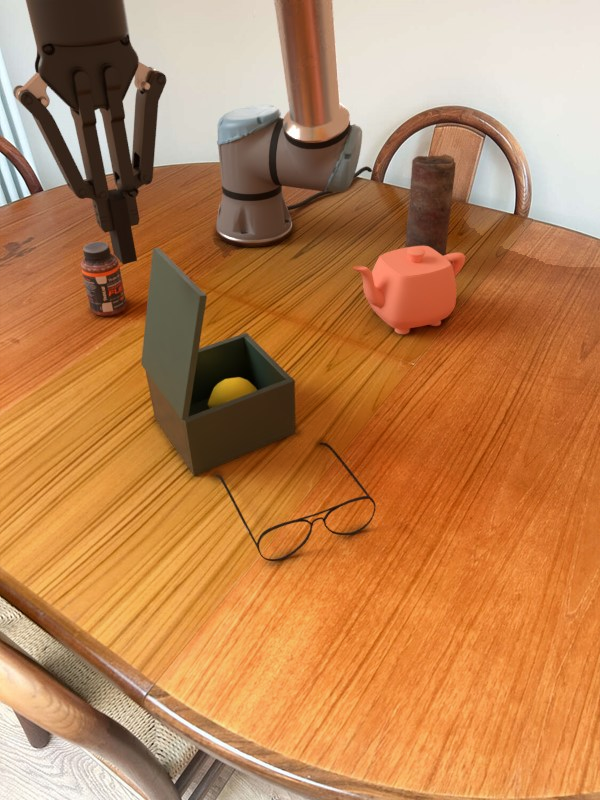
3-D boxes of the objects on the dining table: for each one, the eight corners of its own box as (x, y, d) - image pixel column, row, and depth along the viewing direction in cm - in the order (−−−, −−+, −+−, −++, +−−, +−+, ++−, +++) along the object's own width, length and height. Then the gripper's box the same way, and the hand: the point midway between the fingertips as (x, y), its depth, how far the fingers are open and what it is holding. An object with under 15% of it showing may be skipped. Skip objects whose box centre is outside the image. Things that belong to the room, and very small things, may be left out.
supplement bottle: (118, 319, 108) (105, 257, 100) (85, 316, 109) (69, 253, 101) (132, 301, 112) (120, 239, 105) (100, 297, 113) (86, 236, 106)
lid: (159, 247, 75) (152, 247, 74) (207, 295, 67) (200, 295, 66) (146, 363, 83) (140, 364, 82) (188, 419, 74) (181, 420, 74)
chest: (250, 383, 94) (246, 332, 89) (295, 433, 86) (294, 380, 80) (154, 419, 88) (144, 366, 83) (194, 476, 80) (185, 422, 75)
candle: (397, 271, 119) (408, 161, 107) (407, 254, 125) (419, 147, 112) (439, 279, 117) (454, 167, 104) (447, 261, 122) (463, 152, 110)
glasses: (258, 569, 70) (254, 535, 67) (217, 486, 81) (212, 454, 78) (377, 526, 74) (377, 492, 71) (322, 453, 86) (320, 422, 83)
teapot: (436, 288, 115) (446, 224, 107) (476, 322, 106) (489, 254, 99) (333, 313, 109) (335, 247, 101) (367, 351, 100) (372, 281, 92)
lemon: (251, 395, 91) (249, 363, 87) (266, 418, 87) (264, 386, 84) (203, 408, 89) (199, 377, 85) (216, 433, 85) (212, 401, 82)
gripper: (-4, -4, 46) (72, 290, 61) (168, -19, 51) (199, 255, 66) (-25, -16, 51) (50, 258, 66) (134, -29, 56) (170, 228, 71)
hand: (125, 257), depth 66 cm, fingers closed
